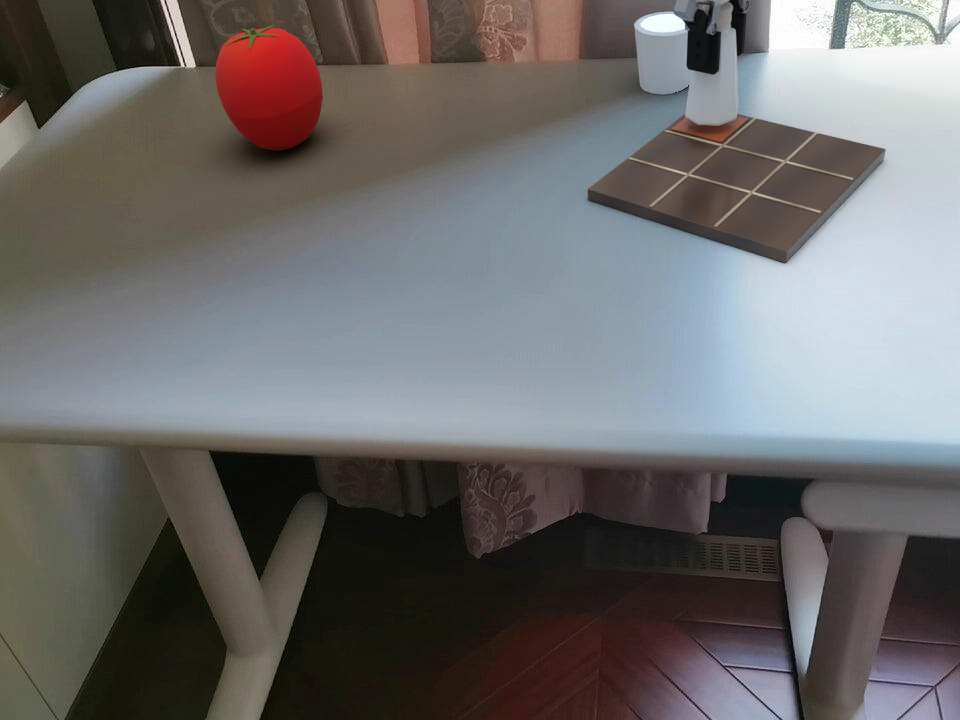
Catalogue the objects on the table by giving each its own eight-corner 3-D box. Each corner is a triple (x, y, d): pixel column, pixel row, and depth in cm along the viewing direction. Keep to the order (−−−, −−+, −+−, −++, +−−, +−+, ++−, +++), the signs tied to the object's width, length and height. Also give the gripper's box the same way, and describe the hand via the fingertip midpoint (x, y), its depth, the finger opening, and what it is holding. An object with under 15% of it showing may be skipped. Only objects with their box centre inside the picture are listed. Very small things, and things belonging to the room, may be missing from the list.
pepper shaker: (721, 131, 93) (729, 19, 86) (673, 119, 96) (676, 10, 89) (749, 109, 96) (758, -1, 89) (702, 98, 99) (707, -10, 92)
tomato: (346, 148, 104) (322, 33, 95) (250, 178, 101) (216, 61, 92) (315, 111, 112) (289, 1, 104) (225, 137, 109) (191, 26, 101)
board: (883, 160, 91) (886, 146, 90) (785, 263, 80) (787, 249, 79) (696, 114, 101) (697, 102, 100) (587, 200, 91) (587, 187, 90)
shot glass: (630, 96, 106) (630, 35, 102) (637, 70, 111) (637, 10, 107) (693, 97, 105) (696, 34, 100) (698, 70, 110) (700, 9, 105)
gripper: (716, -117, 74) (705, 104, 86) (813, -169, 83) (791, 37, 95) (634, -124, 78) (634, 87, 90) (735, -173, 87) (723, 25, 99)
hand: (715, 59), depth 92 cm, fingers closed on pepper shaker, 4 cm apart
